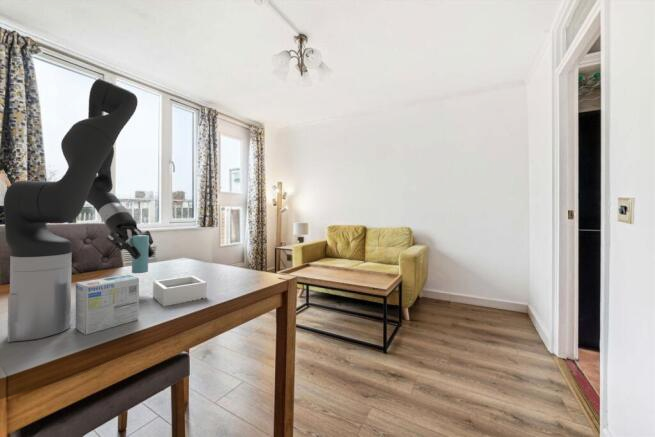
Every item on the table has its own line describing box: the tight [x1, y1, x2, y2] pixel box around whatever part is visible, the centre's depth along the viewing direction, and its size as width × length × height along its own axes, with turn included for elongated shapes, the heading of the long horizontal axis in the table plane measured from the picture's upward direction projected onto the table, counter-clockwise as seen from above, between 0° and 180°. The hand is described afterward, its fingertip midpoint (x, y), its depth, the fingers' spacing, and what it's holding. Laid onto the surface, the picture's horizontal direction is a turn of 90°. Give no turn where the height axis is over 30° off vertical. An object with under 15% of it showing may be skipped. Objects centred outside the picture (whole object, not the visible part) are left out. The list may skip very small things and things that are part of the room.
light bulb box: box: [75, 274, 140, 336], centre depth 64 cm, size 11×7×11 cm, turn 149°
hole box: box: [152, 275, 208, 307], centre depth 85 cm, size 12×12×5 cm
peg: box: [131, 235, 149, 274], centre depth 88 cm, size 4×4×12 cm
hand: (145, 256), depth 88 cm, fingers closed on peg, 4 cm apart
